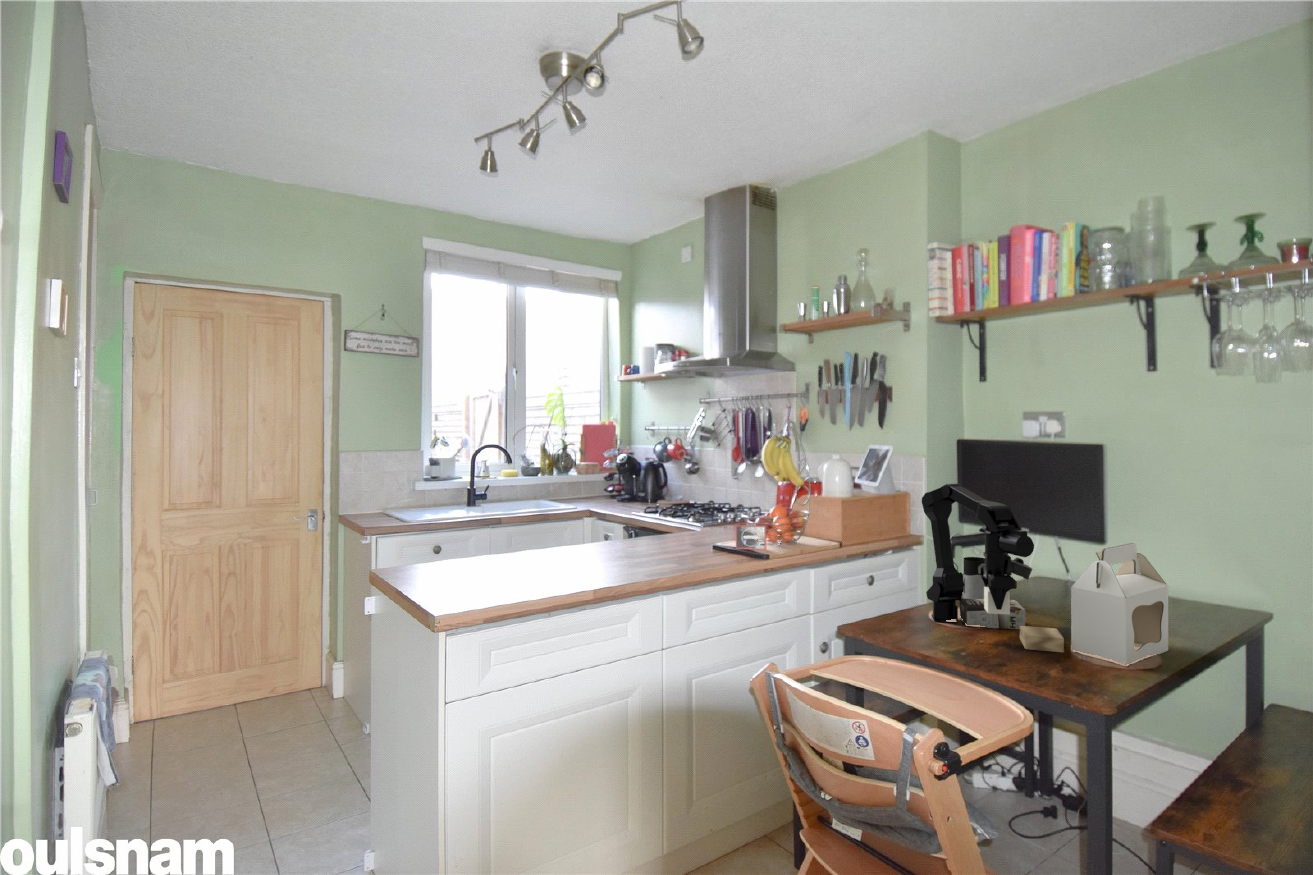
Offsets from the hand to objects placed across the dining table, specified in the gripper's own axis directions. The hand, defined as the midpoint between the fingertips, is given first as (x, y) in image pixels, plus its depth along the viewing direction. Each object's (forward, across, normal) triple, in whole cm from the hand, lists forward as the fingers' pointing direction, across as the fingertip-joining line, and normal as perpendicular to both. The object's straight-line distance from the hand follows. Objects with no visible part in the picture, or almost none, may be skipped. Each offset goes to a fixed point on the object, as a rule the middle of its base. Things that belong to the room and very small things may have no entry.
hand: (996, 606), depth 184 cm
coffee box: (+7, +18, -10) cm, 22 cm away
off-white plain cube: (+1, 0, 0) cm, 1 cm away
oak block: (+10, 0, -11) cm, 15 cm away
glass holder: (+10, +41, +1) cm, 42 cm away
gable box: (+10, 0, -29) cm, 31 cm away
